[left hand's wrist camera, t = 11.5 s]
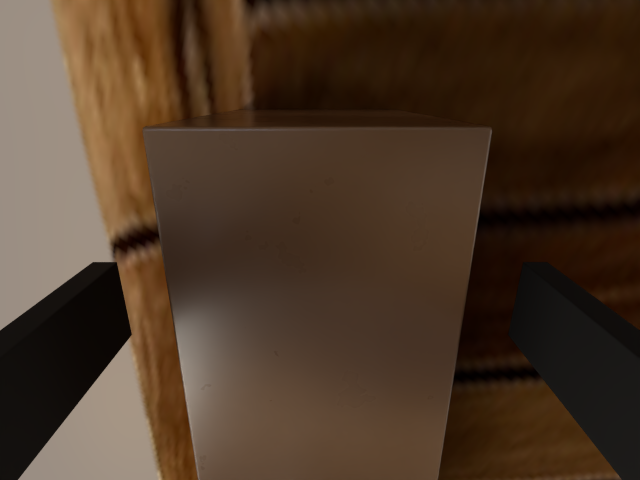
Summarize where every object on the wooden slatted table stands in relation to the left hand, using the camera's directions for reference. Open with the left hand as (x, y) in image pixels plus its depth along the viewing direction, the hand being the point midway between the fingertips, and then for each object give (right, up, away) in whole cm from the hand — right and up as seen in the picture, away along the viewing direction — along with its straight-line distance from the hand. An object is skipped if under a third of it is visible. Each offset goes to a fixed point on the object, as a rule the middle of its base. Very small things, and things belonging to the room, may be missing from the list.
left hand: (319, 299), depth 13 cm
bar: (0, -16, +10) cm, 19 cm away
